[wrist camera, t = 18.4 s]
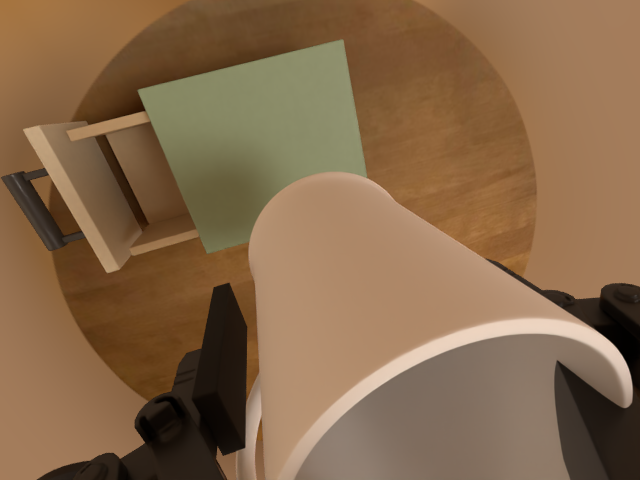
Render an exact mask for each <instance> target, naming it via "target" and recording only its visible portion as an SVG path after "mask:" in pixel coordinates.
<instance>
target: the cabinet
mask: <svg viewBox="0 0 640 480" xmlns="http://www.w3.org/2000/svg"><path fill="white" fill-rule="evenodd" d="M138 93H139V96H140V98H141V100H142V103H143V105H144V107H145V110H146V112H147V114H148V117H149V119H150V121H151V124H152V126H153V128H154V131H155V133H156V135H157V138H158V140H159V142H160V145H161V147H162V149H163V152H164V154H165V156H166V159H167V161H168V164H169V166H170V168H171V171H172V173H173V175H174V178H175V180H176V182H177V185H178V187H179V189H180V192H181V194H182V196H183V199H184V201H185V203H186V206H187V208H188V210H189V213H190V215H191V217H192V220H193V222H194V224H195V227H196V229H197V231H198V234H199V236H200V238H201V241H202V243H203V245H204V248H205V250H206V252H207V254H209V253H213V252H216V251H219V250H223V249H226V248H229V247H233V246H236V245H240V244H243V243H246V242H250V237H251V233H252V230H253V227H254V225H255V223H256V220H257V218H258V217H259V215H260V213H261V212H262V210H263V209H264V207H265V206H266V205H267V204H268V202H269V201H270V200H271V199H272V198H273V197H274V196H275V195H276V194H277V193H279V192H280V191H281V190H282V189H284V188H285V187H287V186H288V185H290V184H291V183H293V182H295V181H297V180H299V179H302V178H304V177H307V176H310V175H313V174H318V173H323V172H347V173H352V174H356V175H360V176H362V177H365V178H367V172H366V166H365V161H364V155H363V149H362V144H361V138H360V132H359V127H358V121H357V115H356V110H355V104H354V98H353V93H352V87H351V81H350V75H349V70H348V64H347V58H346V53H345V47H344V41H343V39H341V40H337V41H333V42H329V43H325V44H321V45H316V46H312V47H308V48H304V49H300V50H296V51H292V52H288V53H284V54H280V55H276V56H272V57H268V58H264V59H260V60H256V61H252V62H248V63H244V64H239V65H235V66H231V67H227V68H223V69H219V70H215V71H211V72H207V73H203V74H199V75H195V76H191V77H187V78H183V79H179V80H175V81H171V82H167V83H162V84H158V85H154V86H150V87H146V88H142V89H138ZM367 179H368V178H367Z"/></svg>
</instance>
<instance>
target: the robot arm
mask: <svg viewBox="0 0 640 480" xmlns="http://www.w3.org/2000/svg"><path fill="white" fill-rule="evenodd" d="M486 260H487V261H489V262H490V263H492V264H493V265H495V266H497V267H498V268H500V269H501V270H503V271H504V272H506V273H507V274H509V275H511V276H512V277H514V278H515V279H517V280H518V281H520V282H522V283H523V284H525V285H526V286H528V287H529V288H531V289H532V290H534V291H536V292H537V293H539V294H540V295H542V296H543V297H545V298H547V299H548V300H550V301H551V302H553V303H554V304H556V305H557V306H559V307H561V308H562V309H564V310H565V311H567V312H568V313H570V314H571V315H573V316H575V317H576V318H578V319H579V320H581V321H582V322H584V323H585V324H587V325H588V326H590V327H591V328H593V329H594V330H596V331H597V332H599V333H600V334H602V335H603V336H604V337H605V338H607V339H608V340H609V341H610V342H611V343H612V344H613V345H614V346H615V347H616V348H617V349H618V351H619V352H620V353H621V355H622V356H623V358H624V360H625V362H626V364H627V366H628V369H629V372H630V375H631V380H632V389H633V398H632V403H631V405H630V406H629V407H627V408H622V407H620V406H618V405H617V404H615V403H614V402H612V401H611V400H609V399H608V398H607V397H605V396H604V395H602V394H601V393H600V392H598V391H597V390H596V389H594V388H593V387H592V386H590V385H589V384H588V383H586V382H585V381H584V380H582V379H581V378H580V377H578V376H577V375H576V374H575V373H573V372H572V371H571V370H569V369H568V368H567V367H566V366H564V365H563V364H562V363H560V362H559V361H558V360H557V361H556V366H555V374H554V393H555V406H556V415H557V423H558V430H559V437H560V443H561V449H562V455H563V460H564V463H565V466H566V469H567V471H568V474H569V477H570V480H640V287H639V286H635V285H632V284H625V283H615V284H609V285H606V286H604V287H603V288H602V289H601V295H600V298H588V299H575V298H574V297H573V296H571V295H569V294H567V293H564V292H560V291H556V290H541V289H539V288H538V287H536V286H535V285H533V284H532V283H530V282H528V281H527V280H525V279H524V278H522V277H521V276H519V275H516V274H515V273H514V272H513V271H511V270H510V269H509V270H508V268H506V267H505V266H503V265H502V264H500V263H499V262H496V261H492V260H489V259H486ZM246 371H247V325H246V323H245V320H244V318H243V315H242V313H241V310H240V308H239V306H238V303H237V301H236V298H235V296H234V293H233V291H232V288H231V286H230V283H227V284H223V285H220V286H217V287H214V289H213V294H212V299H211V304H210V309H209V314H208V319H207V324H206V329H205V334H204V339H203V344H202V349H198V350H195V351H192V352H189V353H186V355H185V356H184V358H183V359H182V361H181V362H180V363H179V366H178V370H177V373H176V377H175V380H174V386H173V388H172V391H171V392H168V393H164V394H161V395H159V396H157V397H155V398H153V399H152V400H150V401H149V402H148V403H147V404H145V406H144V407H143V408H142V409H141V410H140V411H139V413H138V415H137V417H136V419H135V429H136V430H137V432H138V433H139V434H140V436H141V437H142V438H143V440H144V441H145V444H143V445H142V446H140V447H139V448H137V449H136V450H134V451H132V452H131V453H129V454H128V455H126V456H124V457H123V458H121V459H119V457H118V456H117V455H115V454H114V453H105V454H102V455H99V456H97V457H95V458H94V459H93V460H91V461H89V462H88V463H87V464H86V465H85V466H84V467H82V468H81V469H80V470H79V471H78V473H77V474H76V475H75V477H74V478H73V479H72V480H227V478H226V476H225V474H224V473H223V471H222V469H221V467H220V465H219V463H218V462H217V460H216V455H217V446H218V448H219V449H220V451H221V453H222V455H223V456H224V455H227V454H230V453H233V452H235V451H238V450H241V449H244V448H245V447H246Z"/></svg>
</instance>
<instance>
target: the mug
mask: <svg viewBox="0 0 640 480" xmlns="http://www.w3.org/2000/svg"><path fill="white" fill-rule="evenodd" d="M249 265H250V270H251V274H252V277H253V279H254V282H255V291H256V311H257V331H258V351H259V374H258V376H257V378H256V380H255V382H254V384H253V387H252V389H251V392H250V395H249V397H248V400H247V403H246V447H245V448H244V449H241V450H238V451H236V479H237V480H257V479H256V472H255V446H256V437H257V431H258V426H259V422H260V418H261V414H262V430H263V448H264V449H263V450H264V470H265V480H570V477H569V474H568V471H567V469H566V466H565V463H564V460H563V455H562V449H561V443H560V437H559V430H558V423H557V415H556V406H555V393H554V374H555V366H556V361H557V360H558V361H559V362H560V363H562V364H563V365H564V366H566V367H567V368H568V369H569V370H571V371H572V372H573V373H575V374H576V375H577V376H578V377H580V378H581V379H582V380H584V381H585V382H586V383H588V384H589V385H590V386H592V387H593V388H594V389H596V390H597V391H598V392H600V393H601V394H602V395H604V396H605V397H607V398H608V399H609V400H611V401H612V402H614V403H615V404H617V405H618V406H620V407H622V408H627V407H629V406H630V405H631V403H632V398H633V389H632V380H631V375H630V372H629V369H628V366H627V364H626V362H625V360H624V358H623V356H622V355H621V353H620V352H619V351H618V349H617V348H616V347H615V346H614V345H613V344H612V343H611V342H610V341H609V340H608V339H607V338H605V337H604V336H603V335H602V334H600V333H599V332H597V331H596V330H594V329H593V328H591V327H590V326H588V325H587V324H585V323H584V322H582V321H581V320H579V319H578V318H576V317H575V316H573V315H571V314H570V313H568V312H567V311H565V310H564V309H562V308H561V307H559V306H557V305H556V304H554V303H553V302H551V301H550V300H548V299H547V298H545V297H543V296H542V295H540V294H539V293H537V292H536V291H534V290H532V289H531V288H529V287H528V286H526V285H525V284H523V283H522V282H520V281H518V280H517V279H515V278H514V277H512V276H511V275H509V274H507V273H506V272H504V271H503V270H501V269H500V268H498V267H497V266H495V265H493V264H492V263H490V262H489V261H487V260H486V259H484V258H483V257H481V256H479V255H478V254H476V253H475V252H473V251H472V250H470V249H468V248H467V247H465V246H464V245H462V244H461V243H459V242H458V241H456V240H454V239H453V238H451V237H450V236H448V235H447V234H445V233H443V232H442V231H440V230H439V229H437V228H436V227H434V226H433V225H431V224H429V223H428V222H426V221H425V220H423V219H422V218H420V217H418V216H417V215H415V214H414V213H412V212H411V211H409V210H408V209H406V208H404V207H403V206H401V205H400V204H398V203H397V202H395V200H394V199H393V198H392V197H391V195H390V194H389V193H388V192H387V191H386V190H384V189H383V188H382V187H381V186H379V185H378V184H376V183H375V182H373V181H371V180H369V179H367V178H365V177H362V176H360V175H356V174H352V173H347V172H323V173H318V174H313V175H310V176H307V177H304V178H302V179H299V180H297V181H295V182H293V183H291V184H290V185H288V186H287V187H285V188H284V189H282V190H281V191H280V192H279V193H277V194H276V195H275V196H274V197H273V198H272V199H271V200H270V201H269V202H268V204H267V205H266V206H265V207H264V209H263V210H262V212H261V213H260V215H259V217H258V218H257V220H256V223H255V225H254V227H253V230H252V233H251V237H250V242H249Z"/></svg>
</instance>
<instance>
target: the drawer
mask: <svg viewBox="0 0 640 480" xmlns="http://www.w3.org/2000/svg"><path fill="white" fill-rule="evenodd" d="M23 131H24V133H25V135H26V136H27V138H28V140H29V141H30V143H31V145H32V147H33V148H34V150H35V152H36V153H37V155H38V157H39V158H40V160H41V162H42V164H43V165H44V167H45V168H43V169H39V170H36V171H32V172H28V173H25V172H24V171H22V172H17V173H14V174H10V175H6V176H3V177H1V179H2V180H3V182H4V183H5V185H6V186H7V188H8V189H9V191H10V192H11V194H12V195H13V197H14V199H15V200H16V202H17V203H18V205H19V206H20V208H21V209H22V211H23V212H24V214H25V215H26V217H27V218H28V220H29V221H30V223H31V225H32V226H33V227H34V229H35V231H36V232H37V234H38V235H39V237H40V238H41V240H42V241H43V243H44V244H45V246H46V248H47V249H48V250H49V251H52V250H56V249H59V248H61V247H63V246H65V245H67V244H68V242H72V241H75V240H79V239H82V238H87V240H88V242H89V243H90V245H91V247H92V249H93V250H94V252H95V254H96V255H97V257H98V259H99V260H100V262H101V264H102V266H103V267H104V269H105V271H106V272H107V273H109V272H113V271H116V270H120V269H121V267H122V266H123V265H124V264H125V262H126V261H127V260H128V258H129V257H130V256H131V255H133V256H134V255H138V254H141V253H145V252H148V251H151V250H155V249H158V248H162V247H165V246H169V245H172V244H176V243H179V242H182V241H186V240H189V239H193V238H196V237H200V236H199V234H198V231H197V229H196V227H195V224H194V222H193V220H192V217H191V215H190V213H189V210H188V208H187V206H186V203H185V201H184V199H183V196H182V194H181V192H180V189H179V187H178V185H177V182H176V180H175V178H174V175H173V173H172V171H171V168H170V166H169V164H168V161H167V159H166V156H165V154H164V152H163V149H162V147H161V145H160V142H159V140H158V138H157V135H156V133H155V131H154V128H153V126H152V124H151V121H150V119H149V117H148V114H147V112H146V111H143V112H139V113H135V114H131V115H127V116H123V117H119V118H115V119H111V120H107V121H103V122H99V123H96V124H92V125H88V123H87V121H80V122H69V123H58V124H49V125H48V124H47V125H37V126H34V127H30V128H25V129H23ZM102 135H106V137H107V139H108V141H109V143H110V145H111V147H112V149H113V152H114V154H115V156H116V158H117V160H118V162H119V164H120V166H121V168H122V170H123V172H124V174H125V176H126V178H127V180H128V182H129V184H130V186H131V188H132V190H133V192H134V194H135V196H136V198H137V201H138V203H139V205H140V207H141V209H142V211H143V213H144V215H145V217H146V219H147V221H148V223H149V225H148V227H147V228H146V229H145V230H144V231H143V232H142V230H141V228H140V226H139V224H138V222H137V220H136V218H135V216H134V214H133V212H132V210H131V208H130V206H129V204H128V202H127V200H126V198H125V196H124V194H123V193H122V191H121V189H120V187H119V185H118V183H117V181H116V179H115V177H114V175H113V173H112V171H111V169H110V167H109V165H108V163H107V161H106V159H105V157H104V155H103V153H102V151H101V149H100V147H99V145H98V143H97V141H96V139H95V137H97V136H102ZM47 175H50V177H51V179H52V181H53V182H54V184H55V186H56V187H57V189H58V191H59V192H60V194H61V196H62V198H63V199H64V201H65V203H66V204H67V206H68V208H69V209H70V211H71V213H72V215H73V216H74V218H75V220H76V221H77V223H78V225H79V226H80V228H81V230H82V231H79V232H76V233H72V234H69V235H65V236H64V235H63V233H62V232H61V230H60V229H59V227H58V225H57V224H56V222H55V221H54V219H53V217H52V216H51V214H50V212H49V211H48V209H47V208H46V206H45V204H44V203H43V201H42V199H41V198H40V196H39V195H38V193H37V192H36V190H35V188H34V187H33V185H32V183H31V182H30V180H32V179H36V178H39V177H43V176H47Z"/></svg>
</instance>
